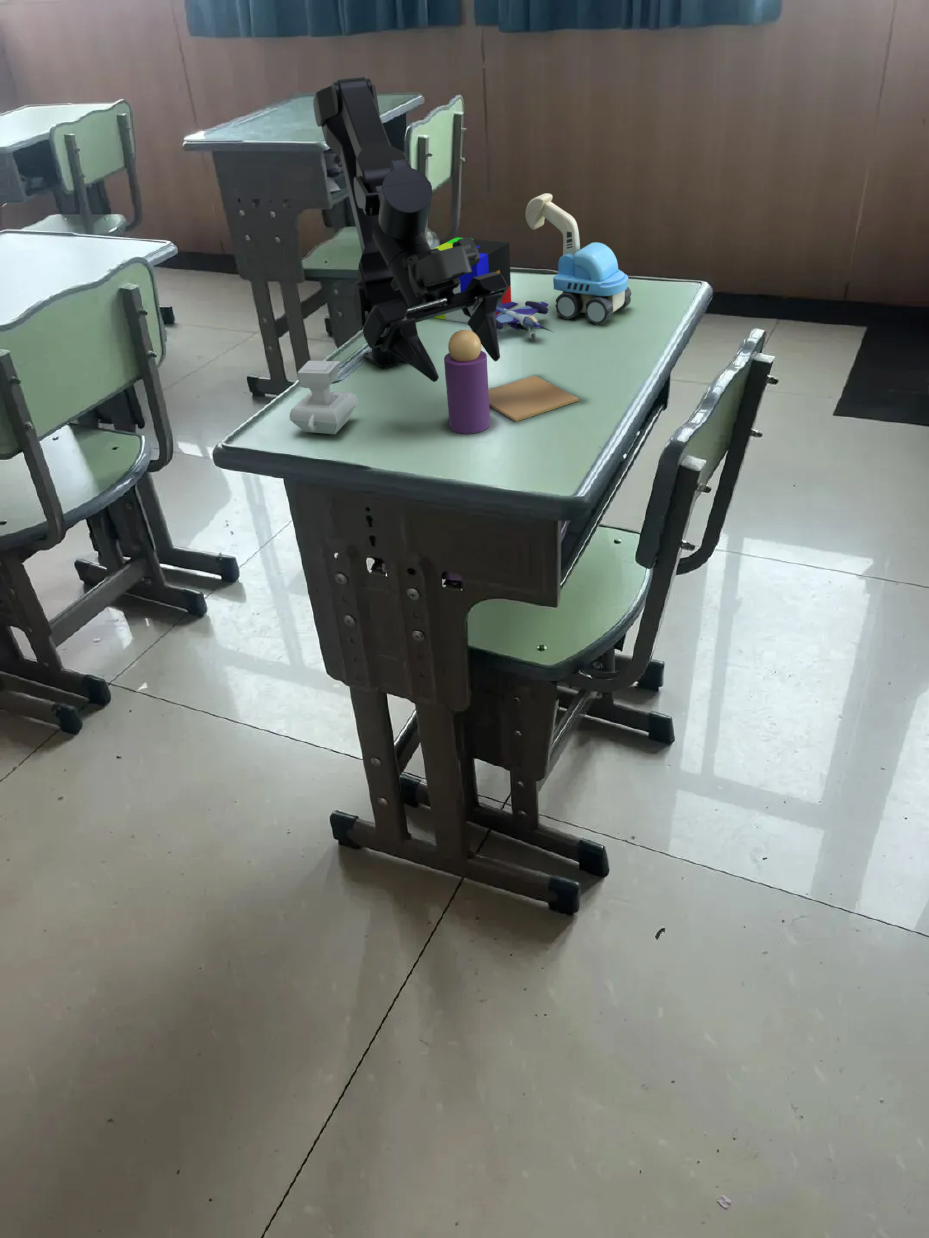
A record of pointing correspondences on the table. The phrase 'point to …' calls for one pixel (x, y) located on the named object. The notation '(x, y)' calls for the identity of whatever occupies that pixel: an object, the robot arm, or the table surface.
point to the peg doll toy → (467, 384)
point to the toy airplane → (520, 316)
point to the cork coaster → (528, 398)
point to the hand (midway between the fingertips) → (467, 369)
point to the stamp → (322, 399)
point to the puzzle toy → (482, 270)
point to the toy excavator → (581, 268)
